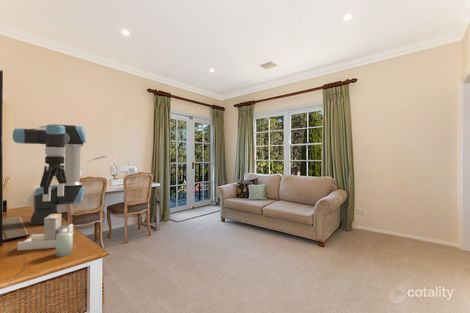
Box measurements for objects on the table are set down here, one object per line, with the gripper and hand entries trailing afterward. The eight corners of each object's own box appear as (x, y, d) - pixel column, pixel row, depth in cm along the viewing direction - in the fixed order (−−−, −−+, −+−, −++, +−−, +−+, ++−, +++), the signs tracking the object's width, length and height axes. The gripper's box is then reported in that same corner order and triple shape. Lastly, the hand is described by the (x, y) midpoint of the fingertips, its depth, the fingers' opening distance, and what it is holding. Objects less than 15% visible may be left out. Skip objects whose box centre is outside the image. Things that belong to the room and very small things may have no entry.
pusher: (63, 238, 117) (63, 224, 117) (76, 237, 118) (77, 223, 118) (55, 244, 109) (55, 229, 109) (69, 243, 110) (69, 228, 110)
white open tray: (31, 241, 114) (32, 225, 114) (72, 238, 119) (73, 223, 119) (17, 250, 104) (17, 232, 104) (62, 247, 108) (63, 230, 108)
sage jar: (59, 251, 103) (60, 232, 103) (74, 250, 105) (75, 231, 105) (52, 257, 98) (53, 236, 98) (68, 256, 99) (69, 235, 99)
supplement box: (49, 239, 115) (50, 214, 115) (61, 238, 117) (61, 213, 117) (43, 245, 107) (43, 218, 107) (55, 244, 109) (56, 217, 109)
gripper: (58, 155, 123) (57, 194, 123) (30, 155, 99) (29, 203, 99) (74, 156, 125) (73, 194, 125) (50, 156, 101) (49, 203, 101)
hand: (53, 198), depth 112 cm, fingers open, 13 cm apart
